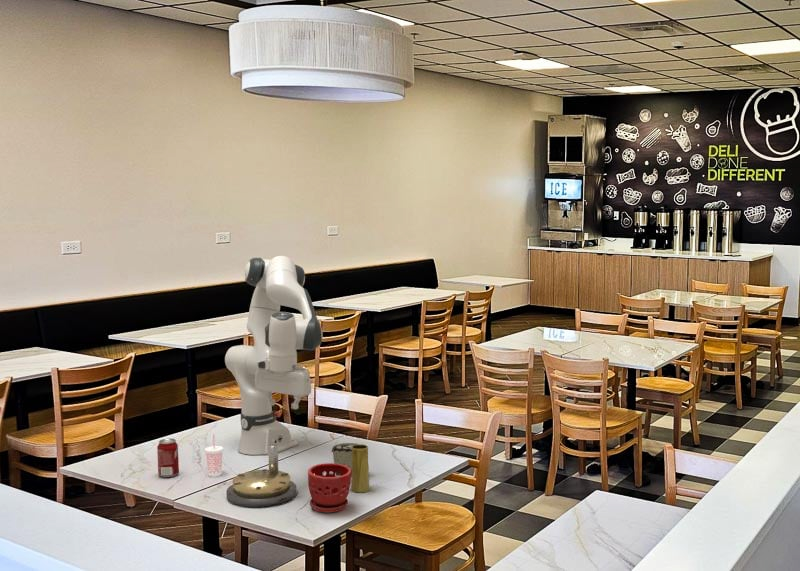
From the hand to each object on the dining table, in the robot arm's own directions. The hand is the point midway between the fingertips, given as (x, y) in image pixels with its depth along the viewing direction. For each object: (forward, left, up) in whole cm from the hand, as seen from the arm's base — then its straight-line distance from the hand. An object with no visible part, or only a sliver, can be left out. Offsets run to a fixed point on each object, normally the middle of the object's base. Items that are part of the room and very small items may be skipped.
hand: (283, 407), depth 264 cm
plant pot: (0, +22, -28) cm, 35 cm away
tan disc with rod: (+7, -2, -25) cm, 26 cm away
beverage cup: (+5, -30, -28) cm, 41 cm away
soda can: (+16, -41, -28) cm, 52 cm away
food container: (-26, +5, -28) cm, 38 cm away
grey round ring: (+7, -2, -27) cm, 29 cm away
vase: (-17, +18, -28) cm, 37 cm away
